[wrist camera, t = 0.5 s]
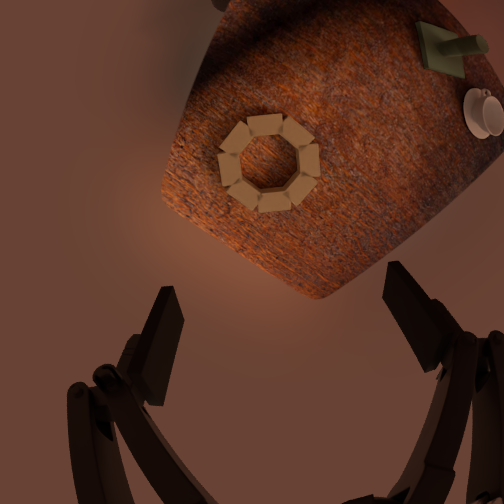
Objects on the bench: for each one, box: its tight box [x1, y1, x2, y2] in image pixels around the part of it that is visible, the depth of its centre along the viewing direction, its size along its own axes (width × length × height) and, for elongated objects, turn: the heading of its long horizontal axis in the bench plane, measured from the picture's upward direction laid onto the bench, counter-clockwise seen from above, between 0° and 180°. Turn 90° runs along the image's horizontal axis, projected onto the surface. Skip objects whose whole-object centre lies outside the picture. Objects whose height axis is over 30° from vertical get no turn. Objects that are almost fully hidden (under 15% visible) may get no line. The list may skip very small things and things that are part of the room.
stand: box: [415, 21, 489, 78], centre depth 22 cm, size 9×9×12 cm
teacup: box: [464, 88, 504, 139], centre depth 29 cm, size 10×10×5 cm
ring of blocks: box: [217, 113, 320, 213], centre depth 36 cm, size 14×14×3 cm
